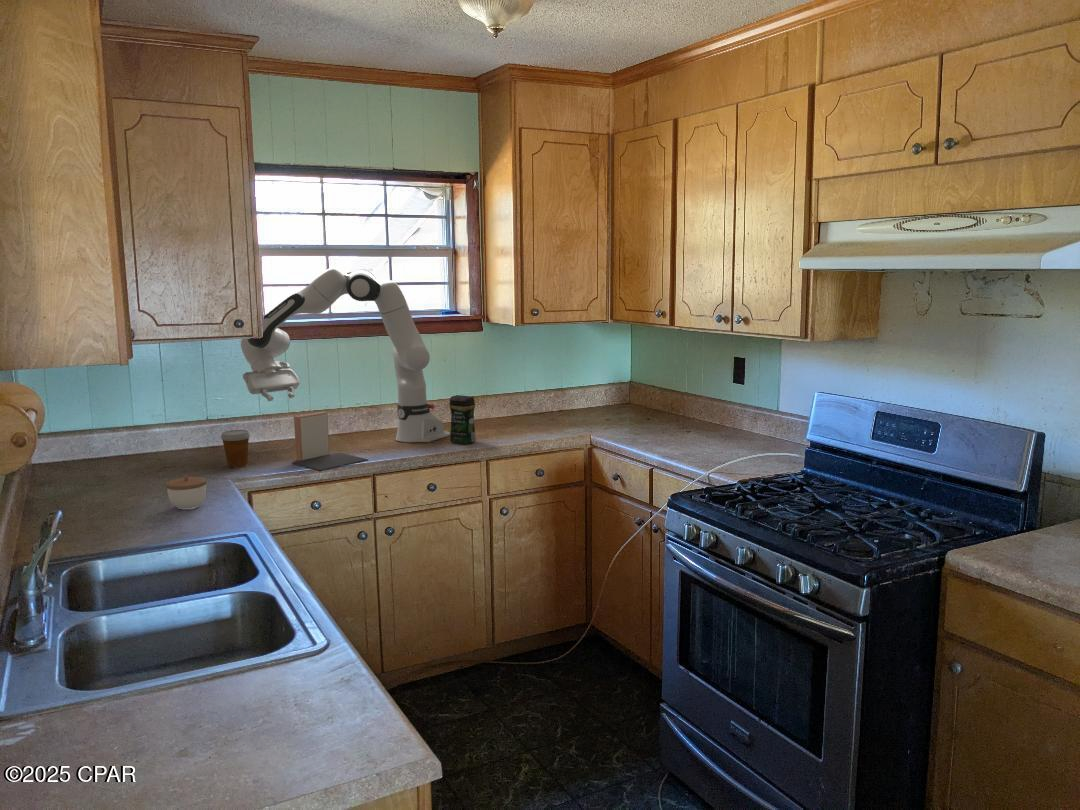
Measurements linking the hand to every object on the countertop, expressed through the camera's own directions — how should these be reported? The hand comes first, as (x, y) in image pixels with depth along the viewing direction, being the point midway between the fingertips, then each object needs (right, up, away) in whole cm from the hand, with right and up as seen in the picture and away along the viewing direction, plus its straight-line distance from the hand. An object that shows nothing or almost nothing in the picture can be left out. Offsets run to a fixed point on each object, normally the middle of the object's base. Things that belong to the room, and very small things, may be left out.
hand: (281, 398), depth 310 cm
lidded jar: (-6, -32, -68) cm, 76 cm away
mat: (+22, -23, -15) cm, 35 cm away
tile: (+14, -22, -8) cm, 27 cm away
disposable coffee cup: (-9, -24, -20) cm, 32 cm away
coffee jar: (+66, -17, +15) cm, 70 cm away
